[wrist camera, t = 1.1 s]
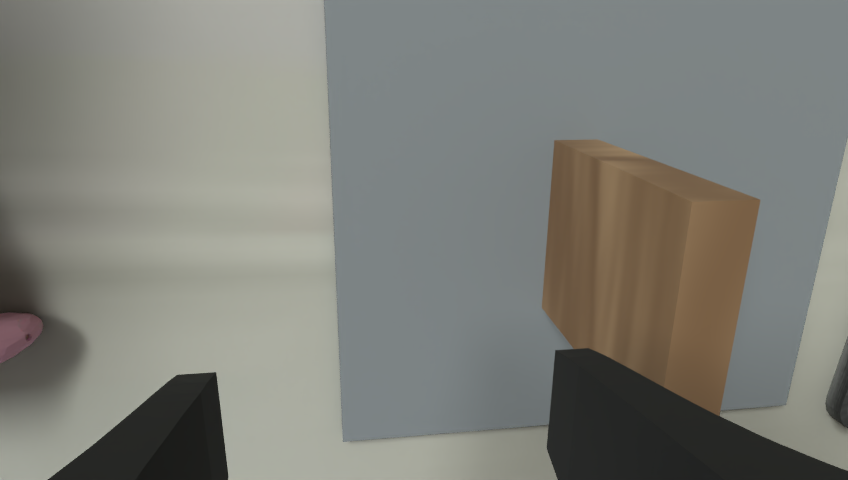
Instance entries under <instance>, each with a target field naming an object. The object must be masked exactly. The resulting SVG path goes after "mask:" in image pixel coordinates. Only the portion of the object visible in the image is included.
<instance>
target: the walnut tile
mask: <svg viewBox="0 0 848 480" xmlns="http://www.w3.org/2000/svg"><path fill="white" fill-rule="evenodd" d="M759 206H760V199H757V198H755V197H752V196H749V195H747V194H744V193H741V192H739V191H736V190H733V189H730V188H728V187H725V186H722V185H720V184H717V183H714V182H712V181H709V180H706V179H703V178H701V177H698V176H695V175H693V174H690V173H687V172H685V171H682V170H679V169H676V168H674V167H671V166H668V165H666V164H663V163H660V162H658V161H655V160H652V159H649V158H647V157H644V156H641V155H639V154H636V153H633V152H631V151H628V150H625V149H622V148H620V147H617V146H614V145H612V144H609V143H606V142H604V141H601V140H598V139H594V140H554V152H553V165H552V178H551V191H550V204H549V218H548V231H547V244H546V257H545V270H544V284H543V297H542V309H543V310H544V311H545V312H546V314H547V315H548V316H549V318H550V319H551V320H552V322H553V323H554V324H555V325H556V327H557V328H558V329H559V331H560V332H561V333H562V334H563V336H564V337H565V338H566V340H567V341H568V342H569V343H570V345H571V346H572V347H573V349H582V348H589V349H592V350H594V351H597V352H599V353H601V354H603V355H605V356H607V357H609V358H611V359H613V360H615V361H617V362H619V363H620V364H622V365H624V366H626V367H628V368H630V369H632V370H633V371H635V372H637V373H639V374H641V375H642V376H644V377H646V378H648V379H650V380H652V381H653V382H655V383H657V384H659V385H661V386H663V387H664V388H666V389H668V390H670V391H672V392H674V393H676V394H677V395H679V396H681V397H683V398H685V399H687V400H689V401H691V402H692V403H694V404H696V405H698V406H700V407H702V408H704V409H706V410H708V411H710V412H712V413H714V414H716V415H718V416H719V415H720V410H721V405H722V399H723V394H724V389H725V384H726V378H727V373H728V368H729V363H730V358H731V352H732V347H733V342H734V337H735V331H736V326H737V321H738V316H739V310H740V305H741V300H742V295H743V289H744V284H745V279H746V274H747V268H748V263H749V258H750V253H751V247H752V242H753V237H754V232H755V227H756V221H757V216H758V211H759Z"/></svg>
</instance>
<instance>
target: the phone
mask: <svg viewBox="0 0 848 480" xmlns="http://www.w3.org/2000/svg"><path fill="white" fill-rule="evenodd" d="M825 404H826V410H827V411H828V413H829V414H830V416H832V417H833V418H834V419H836V420H837V421H838V422H840V423H841V424H842V425H844V426H845V427H847V428H848V337H847V340H846V343H845V346H844V349H843V351H842V354H841V357H840V360H839V363H838V366H837V369H836V371H835V374H834V377H833V380H832V383H831V386H830V389H829V391H828V394H827V398H826V403H825Z"/></svg>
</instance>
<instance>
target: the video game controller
mask: <svg viewBox="0 0 848 480" xmlns="http://www.w3.org/2000/svg"><path fill="white" fill-rule="evenodd" d="M42 329H43V323H42V320H41V319H40V318H39V317H37V316H35V315H33V314H30V313H12V312H10V313H0V363H2V362H4V361H6V360H8V359H10V358H12V357H14V356H15V355H17V354H18V353H20V352H21V351H23V350H24V349H25V348H27V347H28V346H29V345H31V344H32V343H33V342H34V341H35V339H36V338H37V337H38V336H39V335H40V334H41V332H42Z"/></svg>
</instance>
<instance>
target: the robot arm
mask: <svg viewBox="0 0 848 480" xmlns="http://www.w3.org/2000/svg"><path fill="white" fill-rule="evenodd" d="M547 450H548V453H549V456H550V459H551V461H552V464H553V467H554V470H555V473H556V476H557V478H558V480H848V471H846V470H843V469H841V468H838V467H835V466H832V465H830V464H827V463H825V462H822V461H820V460H817V459H815V458H812V457H810V456H807V455H805V454H803V453H800V452H798V451H795V450H793V449H790V448H788V447H785V446H783V445H780V444H778V443H776V442H774V441H771V440H769V439H767V438H764V437H762V436H760V435H758V434H756V433H753V432H751V431H749V430H747V429H745V428H743V427H741V426H739V425H737V424H735V423H733V422H730V421H728V420H726V419H724V418H722V417H720V416H718V415H716V414H714V413H712V412H710V411H708V410H706V409H704V408H702V407H700V406H698V405H696V404H694V403H692V402H691V401H689V400H687V399H685V398H683V397H681V396H679V395H677V394H676V393H674V392H672V391H670V390H668V389H666V388H664V387H663V386H661V385H659V384H657V383H655V382H653V381H652V380H650V379H648V378H646V377H644V376H642V375H641V374H639V373H637V372H635V371H633V370H632V369H630V368H628V367H626V366H624V365H622V364H620V363H619V362H617V361H615V360H613V359H611V358H609V357H607V356H605V355H603V354H601V353H599V352H597V351H594V350H592V349H589V348H582V349H567V350H555V359H554V370H553V382H552V394H551V405H550V417H549V429H548V440H547ZM48 480H228V470H227V461H226V453H225V444H224V436H223V427H222V419H221V410H220V402H219V393H218V385H217V376H216V372H215V373H200V374H184V375H177V376H175V377H174V378H173V379H171V380H170V381H169V382H167V383H166V384H165V385H164V386H163V387H161V388H160V389H159V390H158V391H157V392H155V393H154V394H153V395H152V396H151V397H150V398H148V399H147V400H146V401H145V402H144V403H143V404H141V405H140V406H139V407H138V408H137V409H136V410H134V411H133V412H132V413H131V414H130V415H129V416H127V417H126V418H125V419H124V420H123V421H121V422H120V423H119V424H118V425H117V426H115V427H114V428H113V429H112V430H111V431H109V432H108V433H107V434H106V435H105V436H103V437H102V438H101V439H100V440H99V441H97V442H96V443H95V444H94V445H93V446H91V447H90V448H89V449H87V450H86V451H85V452H84V453H82V454H81V455H80V456H78V457H77V458H76V459H74V460H73V461H72V462H70V463H69V464H68V465H66V466H65V467H64V468H63V469H61V470H60V471H59V472H57V473H56V474H55V475H53V476H52V477H51V478H49V479H48Z"/></svg>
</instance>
